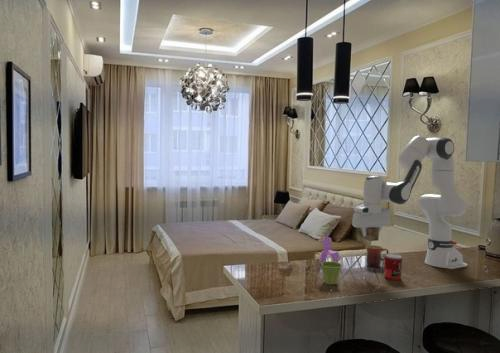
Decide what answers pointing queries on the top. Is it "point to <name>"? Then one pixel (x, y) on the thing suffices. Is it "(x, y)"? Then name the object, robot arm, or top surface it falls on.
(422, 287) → the top surface
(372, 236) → the walnut block
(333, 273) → the plant pot
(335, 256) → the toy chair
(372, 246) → the mug
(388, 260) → the canned food
